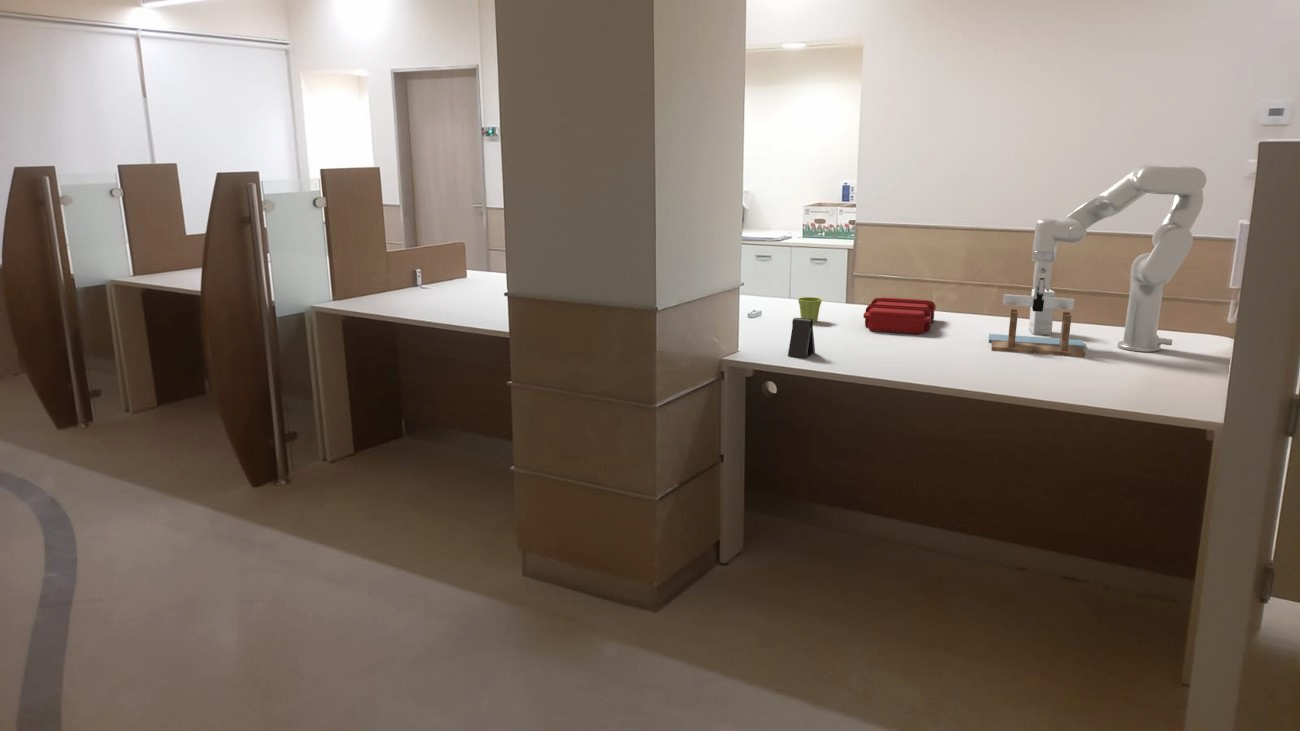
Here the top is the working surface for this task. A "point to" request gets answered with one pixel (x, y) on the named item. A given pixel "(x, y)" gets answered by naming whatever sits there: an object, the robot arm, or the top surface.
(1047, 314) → the skincare box
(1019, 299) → the aluminium rail
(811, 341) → the phone stand
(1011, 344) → the cradle stand
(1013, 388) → the top surface
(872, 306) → the first aid kit
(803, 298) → the plant pot
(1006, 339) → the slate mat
